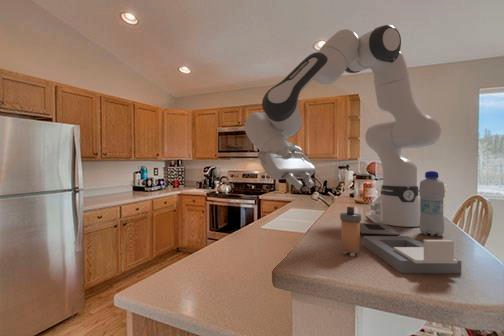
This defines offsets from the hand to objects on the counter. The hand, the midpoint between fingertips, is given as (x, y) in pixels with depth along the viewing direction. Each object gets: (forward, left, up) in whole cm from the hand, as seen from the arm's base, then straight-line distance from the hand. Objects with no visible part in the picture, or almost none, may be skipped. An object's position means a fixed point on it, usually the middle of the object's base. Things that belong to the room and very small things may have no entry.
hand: (306, 186), depth 70 cm
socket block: (+10, +21, -16) cm, 28 cm away
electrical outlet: (-12, +24, -17) cm, 31 cm away
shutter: (+17, +21, -13) cm, 30 cm away
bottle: (-10, +41, -16) cm, 45 cm away
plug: (+8, +9, -16) cm, 20 cm away
